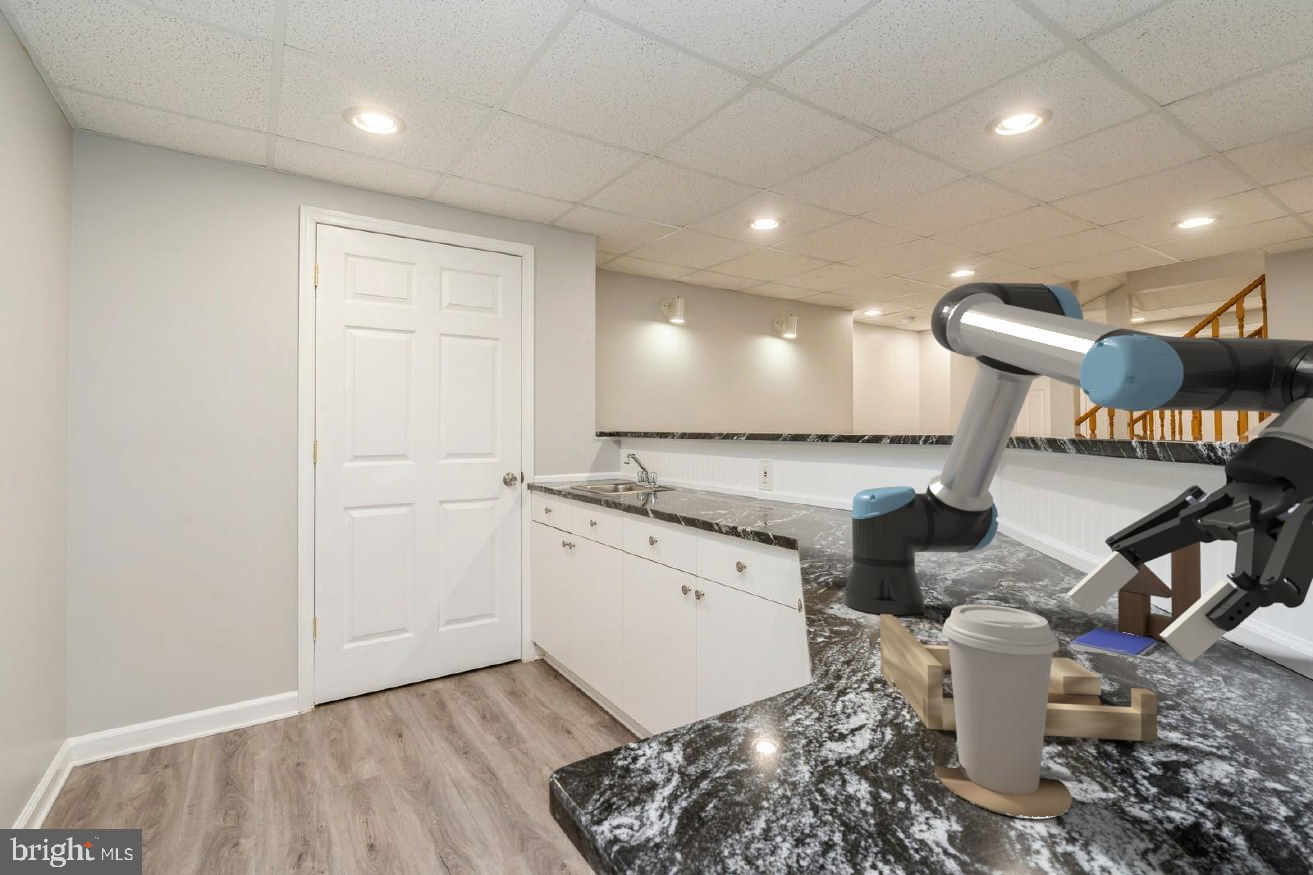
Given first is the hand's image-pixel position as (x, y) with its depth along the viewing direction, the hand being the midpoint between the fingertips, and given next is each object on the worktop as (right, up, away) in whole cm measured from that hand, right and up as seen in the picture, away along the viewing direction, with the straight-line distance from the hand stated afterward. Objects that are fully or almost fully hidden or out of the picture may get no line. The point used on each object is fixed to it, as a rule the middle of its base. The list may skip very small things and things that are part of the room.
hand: (1120, 624), depth 56 cm
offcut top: (+6, -12, +17) cm, 22 cm away
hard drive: (+30, -17, +40) cm, 53 cm away
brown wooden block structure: (+41, -16, +44) cm, 62 cm away
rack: (-1, -15, +18) cm, 23 cm away
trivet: (-11, -15, +1) cm, 18 cm away
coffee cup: (-11, -15, +1) cm, 18 cm away
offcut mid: (+6, -14, +17) cm, 23 cm away
